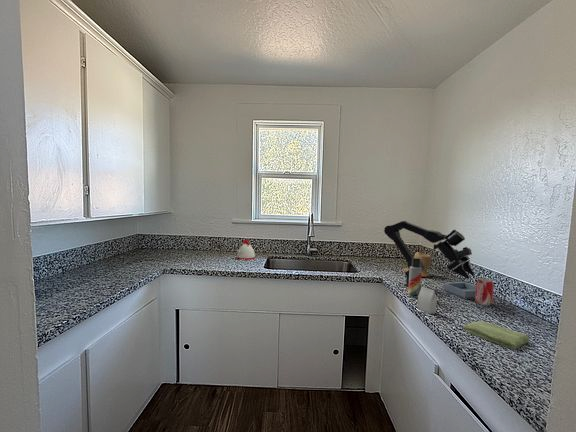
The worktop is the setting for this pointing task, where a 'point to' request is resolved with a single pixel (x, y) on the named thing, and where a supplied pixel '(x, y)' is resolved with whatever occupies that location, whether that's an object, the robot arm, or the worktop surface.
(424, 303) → the tea bag
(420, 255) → the stone cup
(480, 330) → the washcloth
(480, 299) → the soda can
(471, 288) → the bin
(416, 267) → the lotion bottle
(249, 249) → the white rounded cone
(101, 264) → the worktop surface
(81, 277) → the worktop surface
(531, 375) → the worktop surface
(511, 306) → the worktop surface
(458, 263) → the robot arm
